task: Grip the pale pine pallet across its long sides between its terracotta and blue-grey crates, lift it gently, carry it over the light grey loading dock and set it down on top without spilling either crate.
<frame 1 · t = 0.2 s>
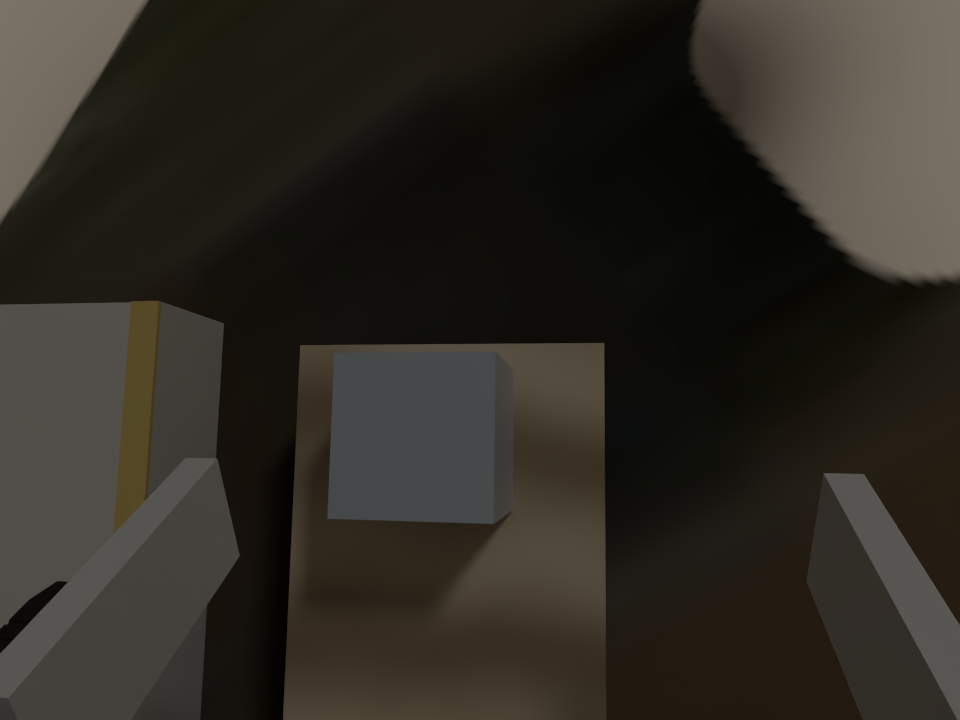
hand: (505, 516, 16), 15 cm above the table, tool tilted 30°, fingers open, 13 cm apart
crate bluegrey: (445, 438, 25), point 6 cm above the table
pallet: (472, 622, 31), on the table, touching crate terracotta
dock: (46, 601, 34), on the table
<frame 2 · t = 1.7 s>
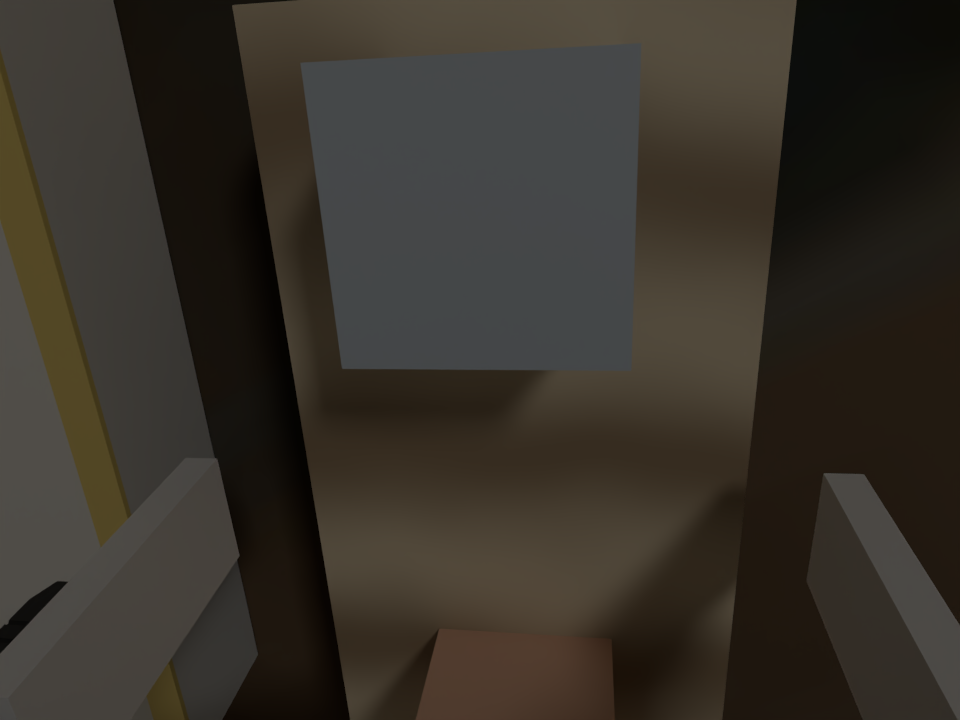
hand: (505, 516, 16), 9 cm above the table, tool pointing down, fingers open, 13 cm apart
crate bluegrey: (506, 175, 15), point 6 cm above the table
pallet: (535, 372, 24), on the table, touching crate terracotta
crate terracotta: (526, 697, 21), point 6 cm above the table, touching pallet
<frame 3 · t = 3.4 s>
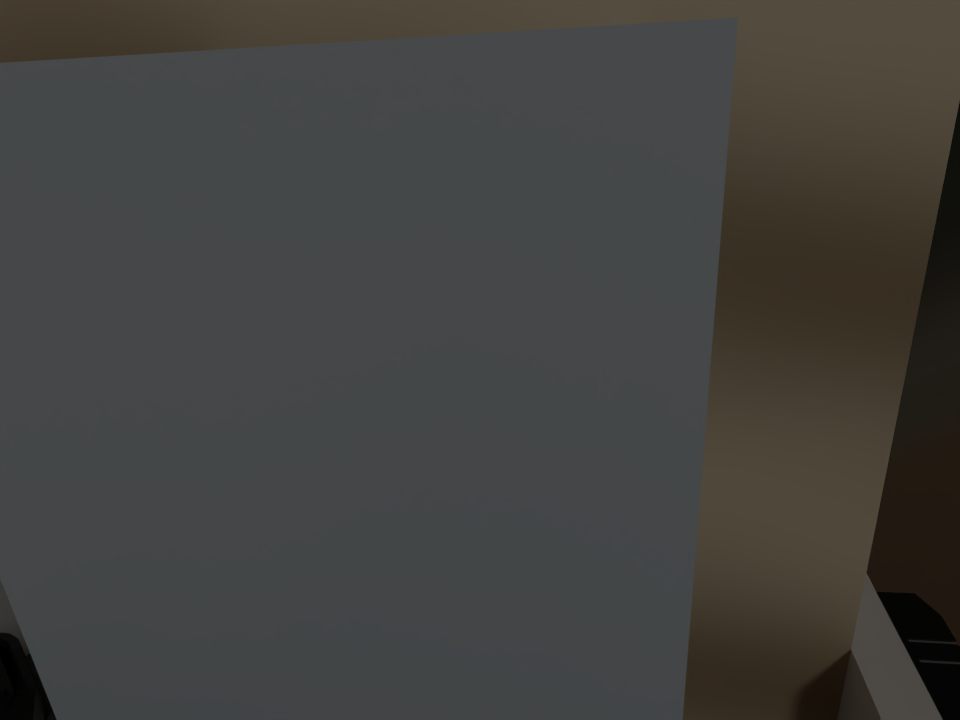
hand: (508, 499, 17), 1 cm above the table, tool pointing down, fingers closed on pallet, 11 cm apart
crate bluegrey: (440, 258, 9), point 6 cm above the table, touching pallet
pallet: (512, 473, 18), on the table, touching crate bluegrey, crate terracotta, gripper
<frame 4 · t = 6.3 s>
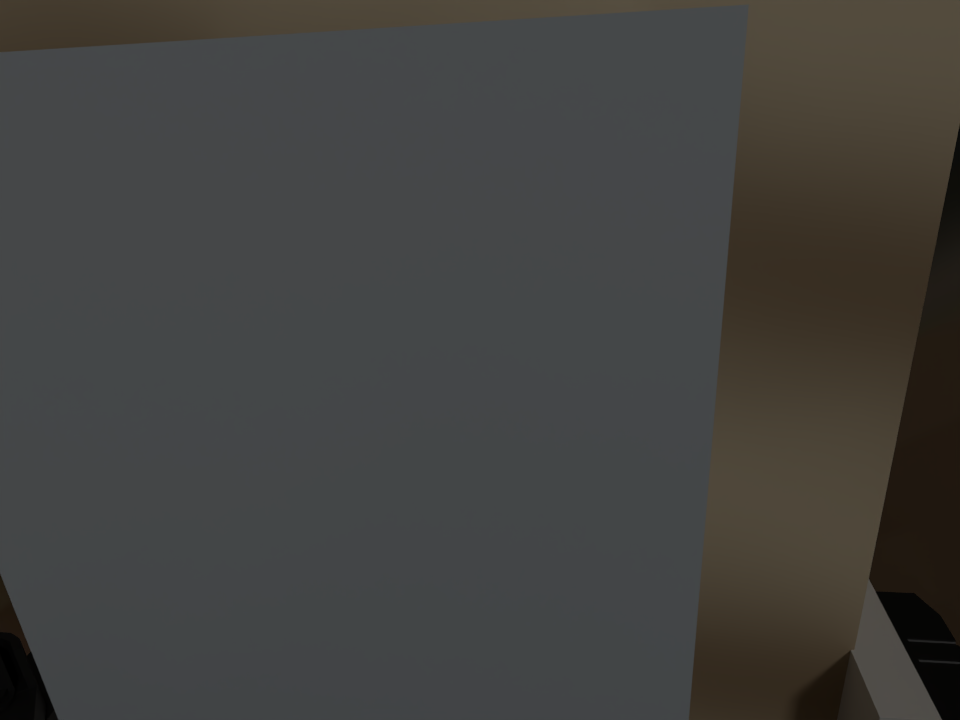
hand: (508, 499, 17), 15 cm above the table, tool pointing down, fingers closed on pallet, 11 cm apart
crate bluegrey: (442, 254, 9), point 20 cm above the table, touching pallet
pallet: (513, 471, 18), point 13 cm above the table, touching crate bluegrey, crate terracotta, gripper
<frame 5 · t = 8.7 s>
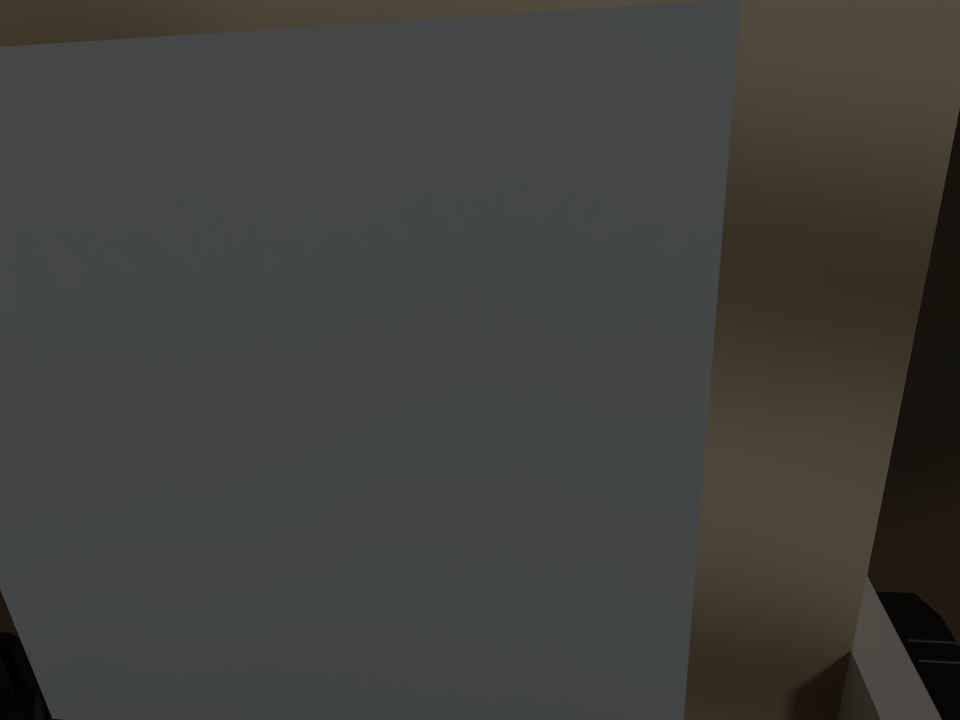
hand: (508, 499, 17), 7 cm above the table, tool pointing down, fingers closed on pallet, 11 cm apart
crate bluegrey: (439, 252, 9), point 13 cm above the table, touching pallet
pallet: (512, 471, 18), point 6 cm above the table, touching crate bluegrey, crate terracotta, gripper
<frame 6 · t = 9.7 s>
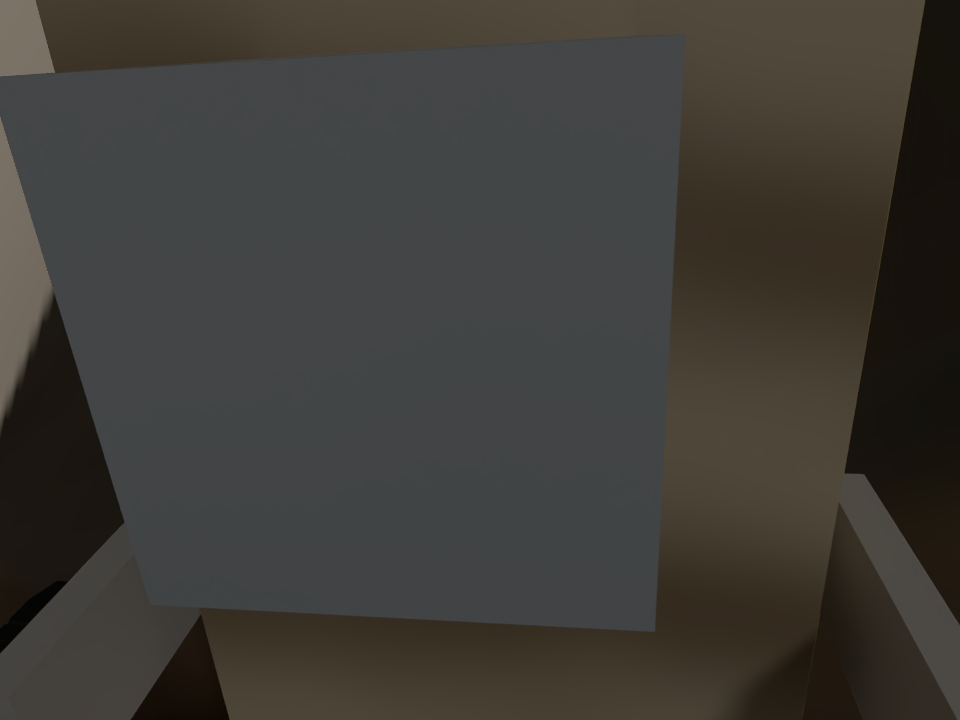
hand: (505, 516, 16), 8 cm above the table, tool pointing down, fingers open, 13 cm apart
crate bluegrey: (455, 234, 10), point 11 cm above the table, touching pallet
pallet: (519, 443, 19), point 5 cm above the table, touching crate bluegrey, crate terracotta, dock
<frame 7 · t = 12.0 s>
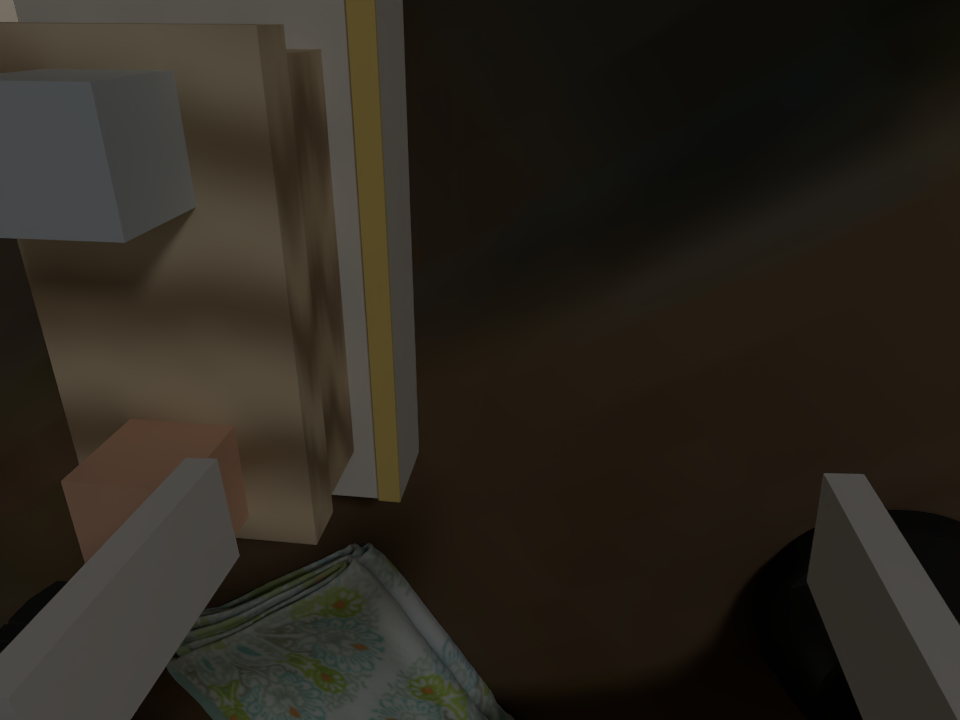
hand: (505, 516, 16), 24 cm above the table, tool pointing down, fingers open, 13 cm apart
crate bluegrey: (123, 139, 27), point 11 cm above the table, touching pallet
pallet: (230, 269, 36), point 5 cm above the table, touching crate bluegrey, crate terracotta, dock
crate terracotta: (191, 468, 33), point 11 cm above the table, touching pallet
towel: (353, 665, 55), on the table
dock: (268, 240, 40), on the table
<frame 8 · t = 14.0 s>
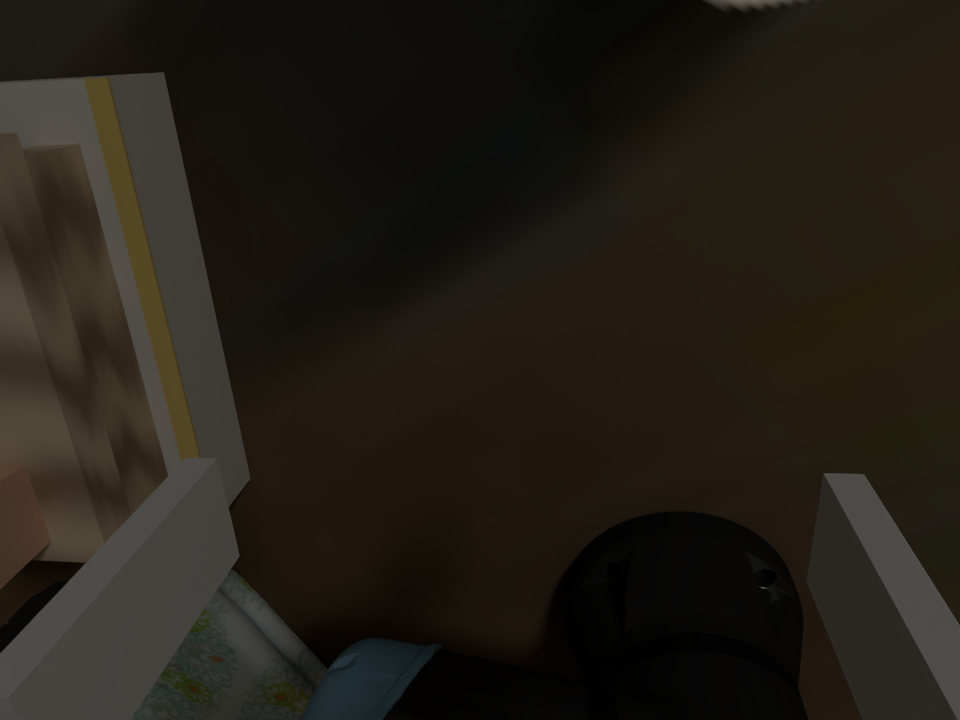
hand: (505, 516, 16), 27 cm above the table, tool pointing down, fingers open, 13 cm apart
pallet: (40, 329, 41), point 5 cm above the table, touching crate bluegrey, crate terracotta, dock
towel: (231, 678, 59), on the table
dock: (93, 300, 46), on the table
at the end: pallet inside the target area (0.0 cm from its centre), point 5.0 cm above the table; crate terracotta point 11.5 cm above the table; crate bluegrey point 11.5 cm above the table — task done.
